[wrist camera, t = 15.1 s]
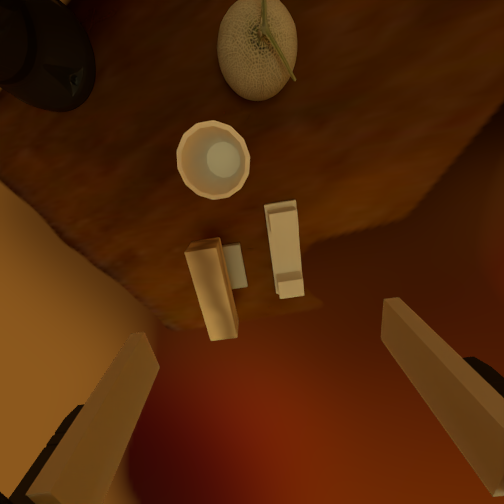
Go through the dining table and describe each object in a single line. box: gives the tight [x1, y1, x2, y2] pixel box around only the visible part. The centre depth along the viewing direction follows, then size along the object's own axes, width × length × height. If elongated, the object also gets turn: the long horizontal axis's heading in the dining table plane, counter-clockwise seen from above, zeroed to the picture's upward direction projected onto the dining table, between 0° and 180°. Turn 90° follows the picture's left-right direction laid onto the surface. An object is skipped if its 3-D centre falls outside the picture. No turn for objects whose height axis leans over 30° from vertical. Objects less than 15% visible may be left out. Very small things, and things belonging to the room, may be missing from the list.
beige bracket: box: [264, 199, 304, 299], centre depth 46 cm, size 6×20×4 cm, turn 9°
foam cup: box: [177, 120, 250, 200], centre depth 36 cm, size 10×9×13 cm
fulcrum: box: [222, 242, 248, 289], centre depth 47 cm, size 10×10×7 cm
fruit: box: [217, 0, 297, 101], centre depth 30 cm, size 10×12×15 cm
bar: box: [184, 237, 239, 341], centre depth 41 cm, size 5×18×5 cm, turn 9°
